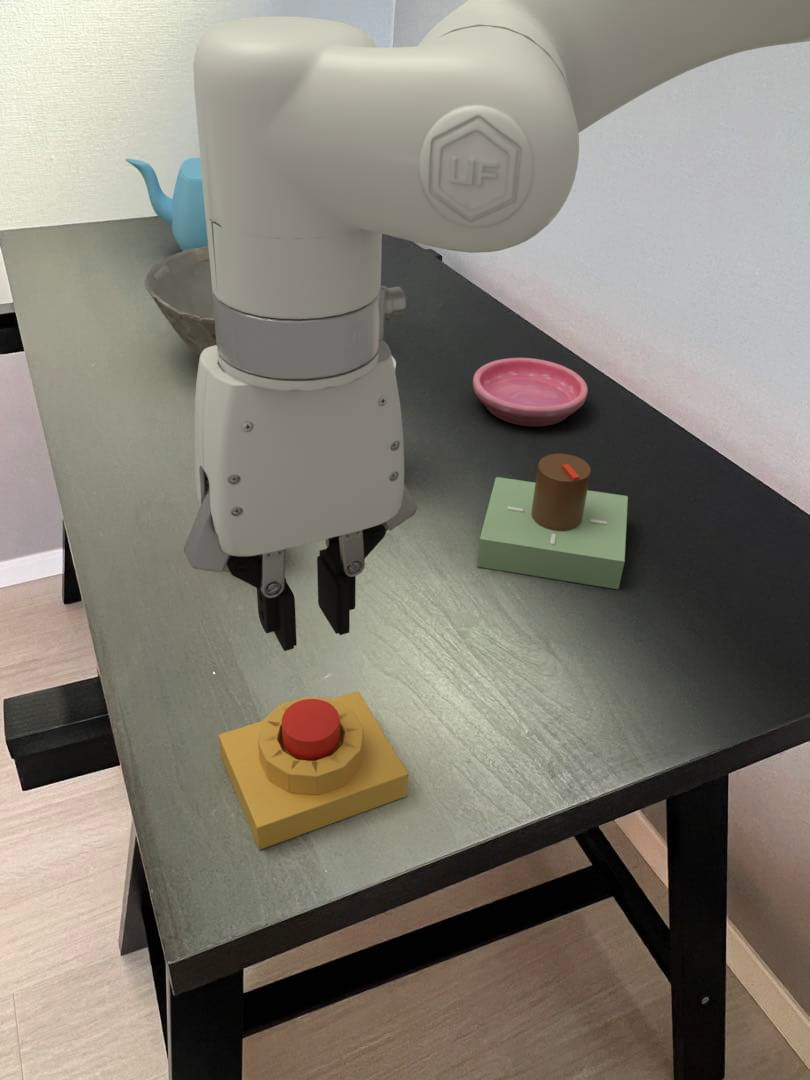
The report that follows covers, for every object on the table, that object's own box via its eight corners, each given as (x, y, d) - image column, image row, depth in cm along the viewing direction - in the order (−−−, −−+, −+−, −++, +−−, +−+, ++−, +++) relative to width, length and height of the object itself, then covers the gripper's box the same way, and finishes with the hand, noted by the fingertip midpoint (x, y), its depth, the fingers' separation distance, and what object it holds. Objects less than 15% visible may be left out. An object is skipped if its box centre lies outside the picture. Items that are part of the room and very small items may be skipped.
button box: (358, 712, 67) (358, 671, 64) (407, 796, 61) (410, 754, 59) (220, 756, 63) (215, 715, 61) (259, 850, 57) (255, 808, 55)
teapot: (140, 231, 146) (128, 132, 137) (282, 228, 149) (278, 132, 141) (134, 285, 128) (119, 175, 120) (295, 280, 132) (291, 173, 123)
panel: (622, 523, 87) (628, 494, 85) (618, 589, 79) (625, 559, 77) (492, 503, 89) (496, 475, 87) (476, 566, 81) (479, 537, 79)
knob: (523, 506, 83) (529, 454, 80) (568, 498, 84) (576, 447, 81) (544, 534, 80) (552, 481, 77) (591, 526, 81) (600, 473, 78)
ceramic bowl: (138, 402, 102) (125, 314, 96) (173, 316, 120) (164, 238, 115) (344, 405, 103) (344, 319, 97) (347, 320, 121) (347, 243, 116)
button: (327, 711, 62) (326, 692, 61) (348, 749, 59) (348, 730, 58) (274, 727, 60) (273, 708, 59) (294, 768, 58) (293, 748, 57)
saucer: (548, 374, 111) (551, 349, 109) (605, 424, 102) (610, 397, 100) (452, 390, 107) (454, 364, 105) (503, 443, 98) (506, 416, 96)
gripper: (419, 275, 49) (406, 557, 60) (102, 320, 43) (151, 624, 54) (491, 331, 44) (462, 630, 55) (140, 391, 38) (186, 713, 49)
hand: (307, 625), depth 54 cm, fingers closed
